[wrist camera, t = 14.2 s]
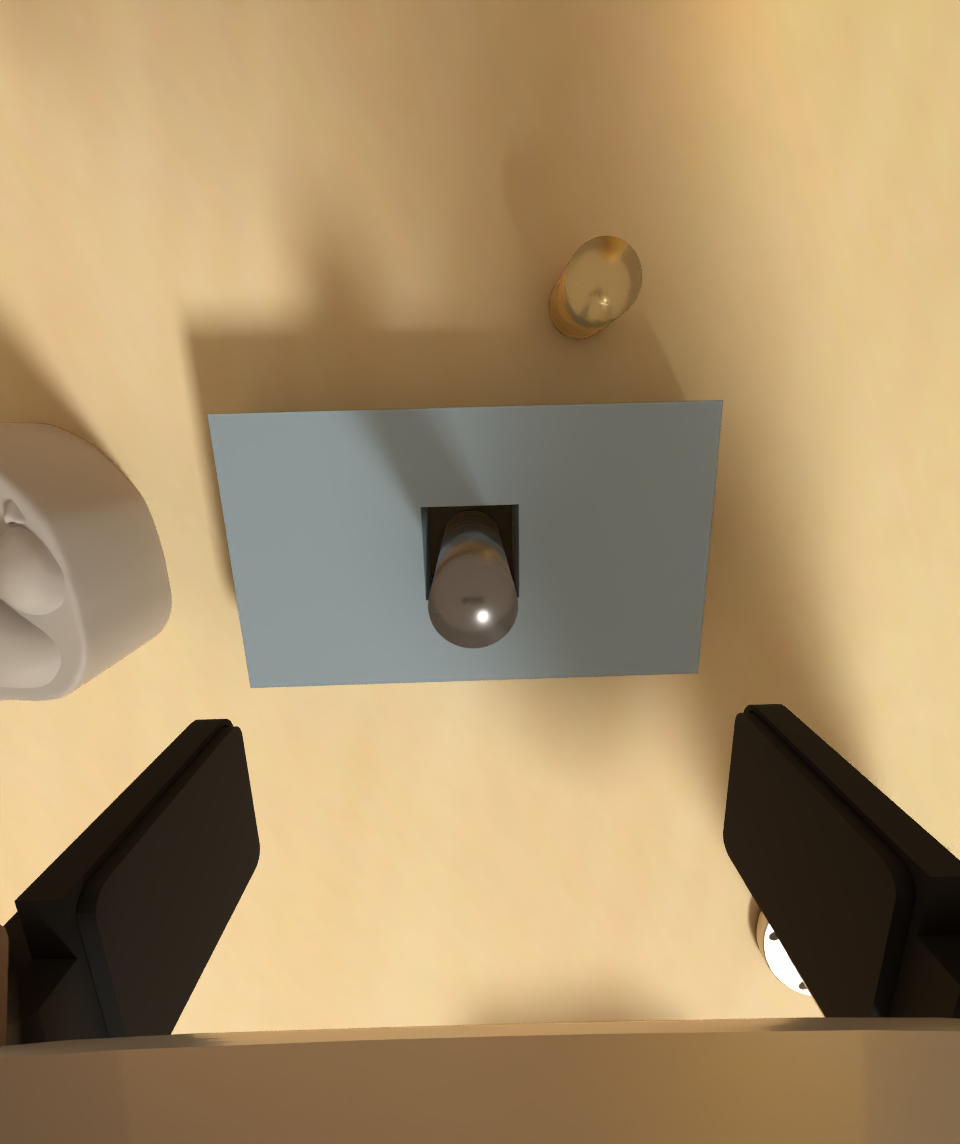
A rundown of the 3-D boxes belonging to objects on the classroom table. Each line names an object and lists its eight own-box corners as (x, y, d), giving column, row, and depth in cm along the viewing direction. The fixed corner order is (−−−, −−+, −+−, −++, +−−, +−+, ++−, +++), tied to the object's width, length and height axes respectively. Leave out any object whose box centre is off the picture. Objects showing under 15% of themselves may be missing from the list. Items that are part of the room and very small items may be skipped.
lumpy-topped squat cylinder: (17, 656, 32) (-145, 738, 23) (-67, 435, 28) (-293, 437, 20) (187, 636, 32) (86, 712, 23) (124, 412, 28) (-22, 405, 20)
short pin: (612, 269, 27) (643, 234, 22) (610, 337, 27) (639, 319, 23) (549, 271, 27) (567, 236, 22) (548, 339, 27) (566, 321, 23)
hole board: (688, 403, 28) (722, 400, 25) (670, 643, 32) (697, 673, 28) (243, 416, 28) (207, 414, 24) (277, 656, 32) (250, 687, 28)
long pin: (499, 509, 30) (518, 561, 18) (500, 563, 31) (518, 646, 19) (442, 510, 30) (425, 564, 18) (445, 565, 31) (430, 649, 19)
